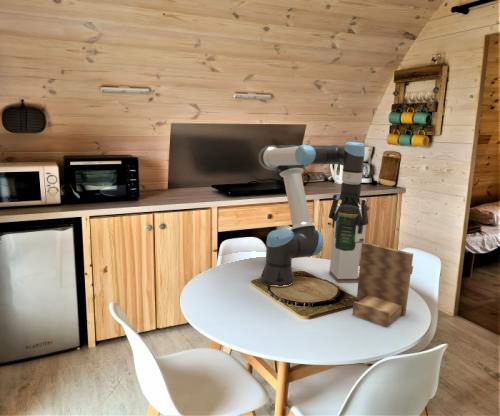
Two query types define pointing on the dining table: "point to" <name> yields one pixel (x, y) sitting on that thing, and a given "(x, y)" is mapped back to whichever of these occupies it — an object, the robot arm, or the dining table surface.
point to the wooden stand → (382, 284)
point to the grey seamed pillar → (346, 260)
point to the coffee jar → (346, 227)
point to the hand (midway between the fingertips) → (346, 238)
